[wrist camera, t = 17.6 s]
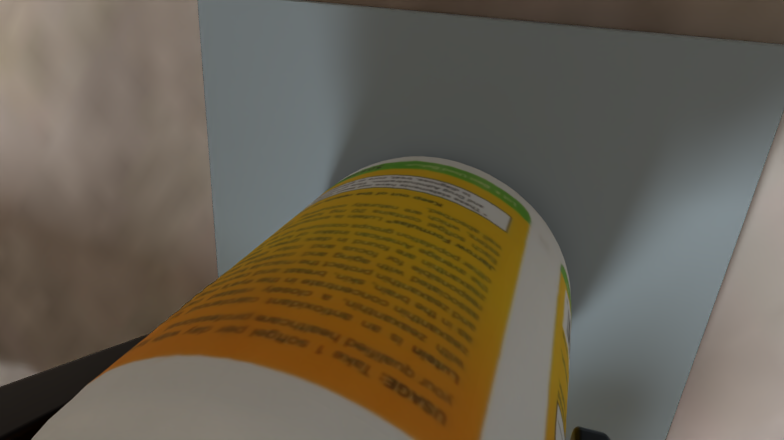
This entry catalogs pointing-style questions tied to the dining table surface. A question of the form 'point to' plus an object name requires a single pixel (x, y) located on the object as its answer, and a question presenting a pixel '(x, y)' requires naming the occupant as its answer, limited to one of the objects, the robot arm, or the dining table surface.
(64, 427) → the supplement bottle
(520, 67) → the doorway mat
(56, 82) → the dining table surface
